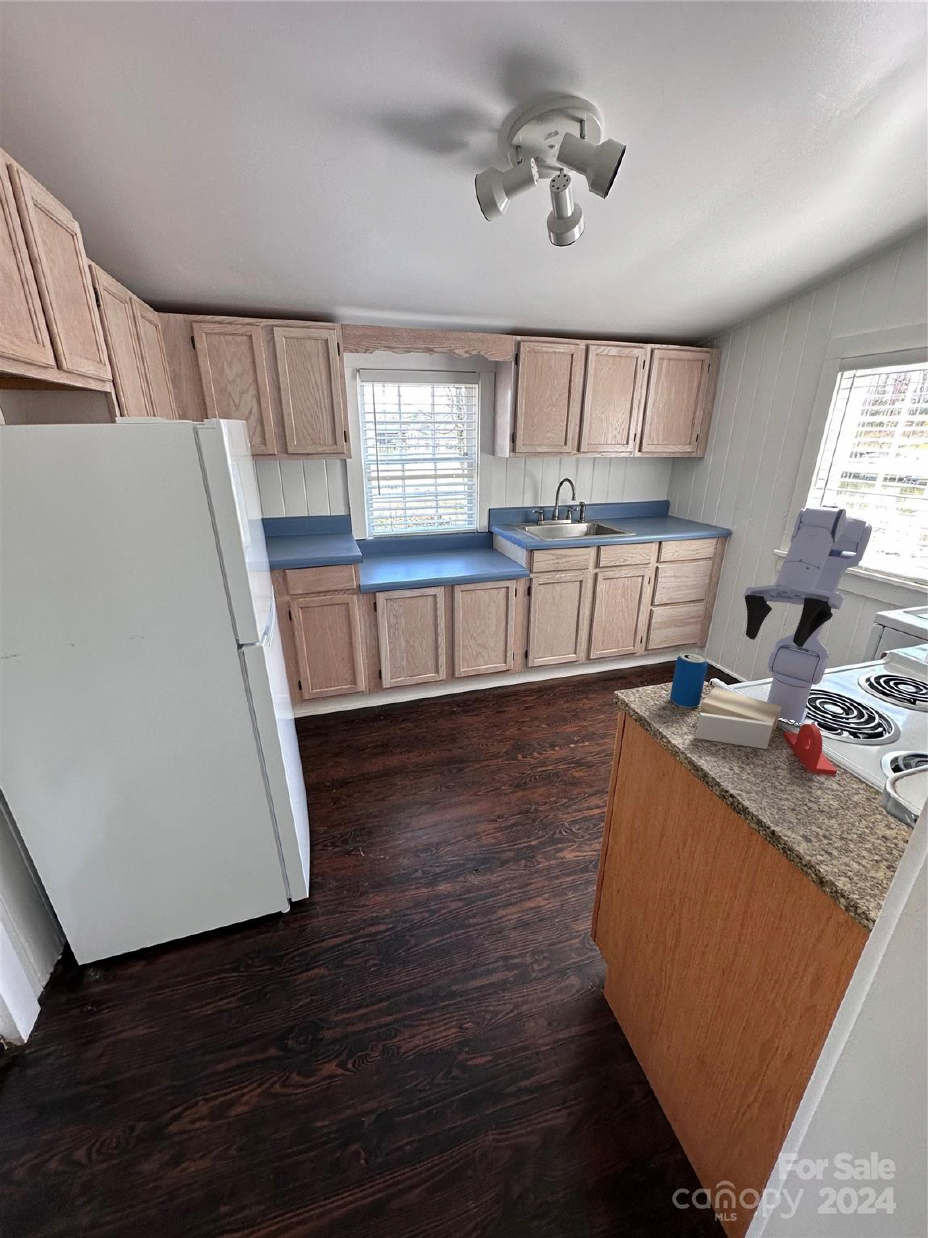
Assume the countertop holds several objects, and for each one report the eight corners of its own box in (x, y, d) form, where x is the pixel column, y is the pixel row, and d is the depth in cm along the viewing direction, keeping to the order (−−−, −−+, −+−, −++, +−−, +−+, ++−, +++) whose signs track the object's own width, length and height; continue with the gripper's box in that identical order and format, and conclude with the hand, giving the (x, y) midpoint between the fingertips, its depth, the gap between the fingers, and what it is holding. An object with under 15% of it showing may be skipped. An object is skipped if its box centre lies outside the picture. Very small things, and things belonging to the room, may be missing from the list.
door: (695, 735, 102) (700, 712, 100) (765, 746, 99) (771, 722, 97) (696, 738, 101) (701, 715, 99) (766, 749, 98) (772, 725, 96)
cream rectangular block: (710, 707, 114) (715, 686, 112) (775, 729, 105) (781, 706, 103) (698, 723, 107) (702, 701, 105) (766, 747, 99) (772, 724, 97)
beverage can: (678, 693, 120) (686, 648, 116) (704, 704, 115) (713, 657, 111) (664, 701, 116) (672, 655, 112) (690, 713, 111) (700, 665, 107)
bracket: (835, 775, 91) (847, 739, 88) (808, 772, 92) (819, 736, 89) (806, 739, 102) (816, 706, 99) (782, 736, 103) (792, 703, 100)
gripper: (748, 557, 88) (720, 624, 86) (841, 558, 76) (811, 637, 74) (765, 576, 92) (738, 641, 90) (857, 580, 79) (828, 656, 77)
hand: (772, 640), depth 82 cm, fingers open, 7 cm apart
